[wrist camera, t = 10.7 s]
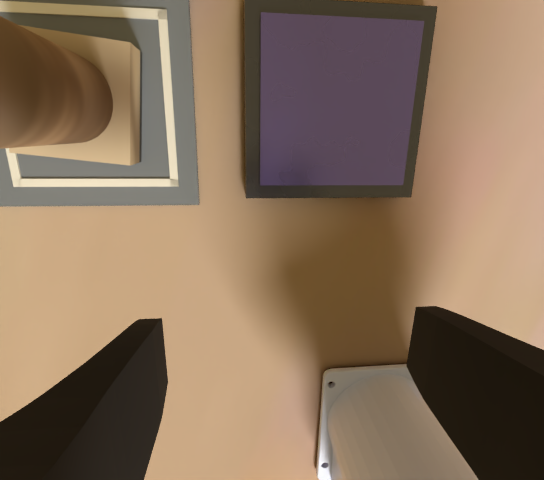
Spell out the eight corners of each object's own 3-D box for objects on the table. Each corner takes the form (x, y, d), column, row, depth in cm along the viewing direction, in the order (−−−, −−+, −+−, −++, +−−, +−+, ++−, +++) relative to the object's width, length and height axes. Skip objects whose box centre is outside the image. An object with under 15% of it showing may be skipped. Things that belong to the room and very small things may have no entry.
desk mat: (199, 204, 19) (199, 205, 18) (0, 205, 17) (-4, 206, 17) (188, -13, 16) (187, -16, 15) (-53, -28, 14) (-59, -31, 14)
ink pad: (402, 193, 20) (413, 198, 18) (245, 194, 19) (246, 199, 17) (425, 13, 17) (441, 4, 16) (243, 3, 16) (244, -8, 15)
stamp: (141, 161, 17) (70, 184, 10) (34, 150, 17) (-130, 165, 9) (142, 53, 16) (60, -19, 8) (25, 35, 15) (-180, -61, 8)
